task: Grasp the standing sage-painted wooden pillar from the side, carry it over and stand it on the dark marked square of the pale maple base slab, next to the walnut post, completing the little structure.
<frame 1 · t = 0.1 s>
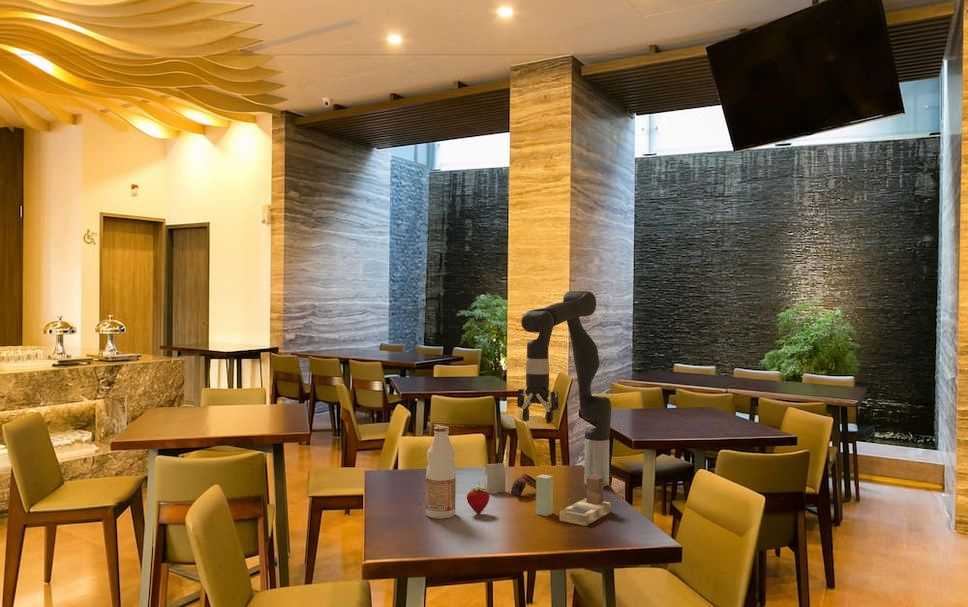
hand: (537, 422, 223), 29 cm above the table, tool pointing down, fingers open, 8 cm apart
pottery mug: (523, 496, 243), on the table
strawberry: (478, 514, 220), on the table
base slab: (585, 516, 219), on the table
pillar: (544, 513, 221), on the table
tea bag: (494, 492, 248), on the table
fruit juice: (440, 515, 219), on the table
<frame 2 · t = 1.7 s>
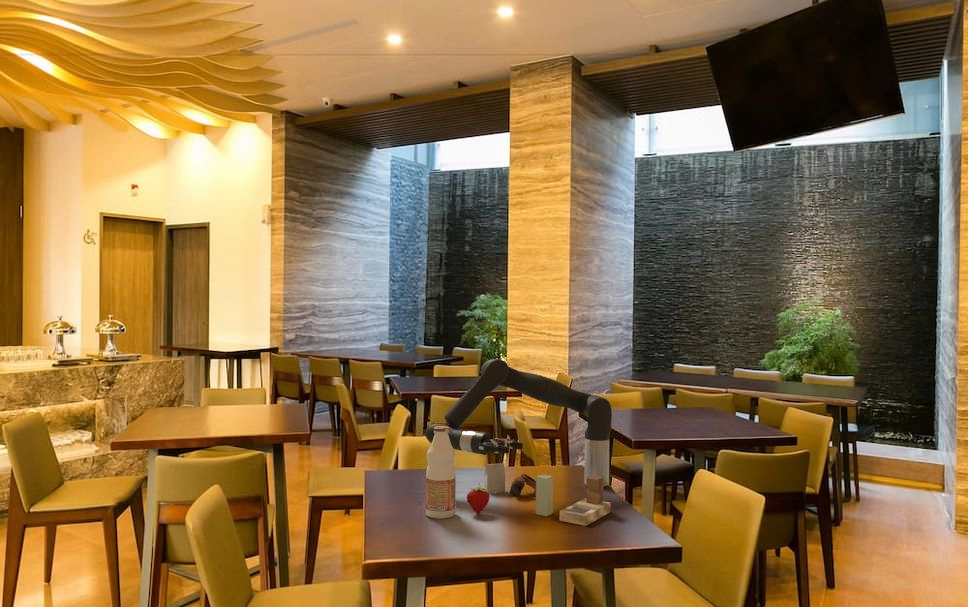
hand: (515, 448, 228), 20 cm above the table, tool horizontal, fingers open, 8 cm apart
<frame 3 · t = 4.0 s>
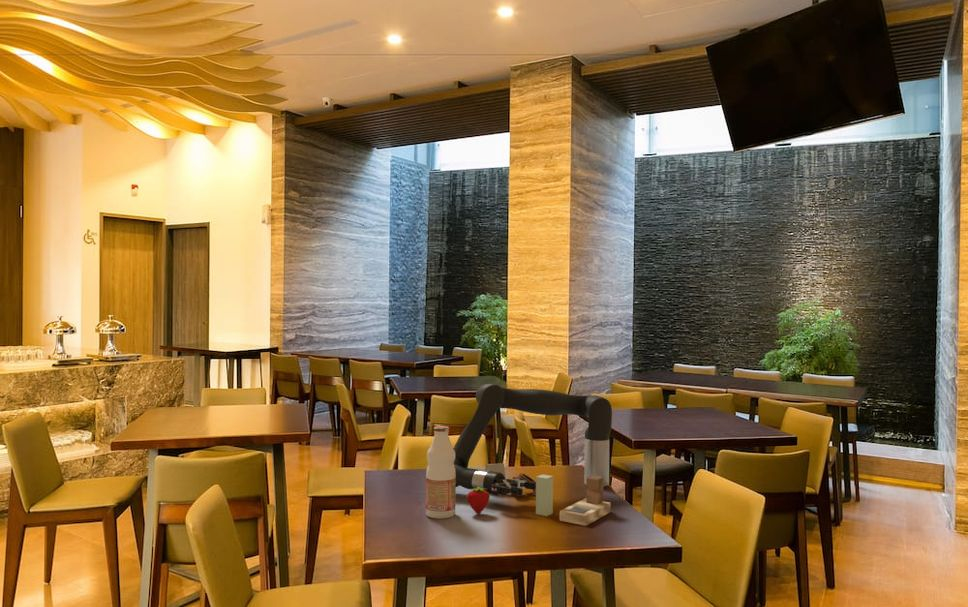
hand: (529, 489, 225), 7 cm above the table, tool horizontal, fingers open, 8 cm apart
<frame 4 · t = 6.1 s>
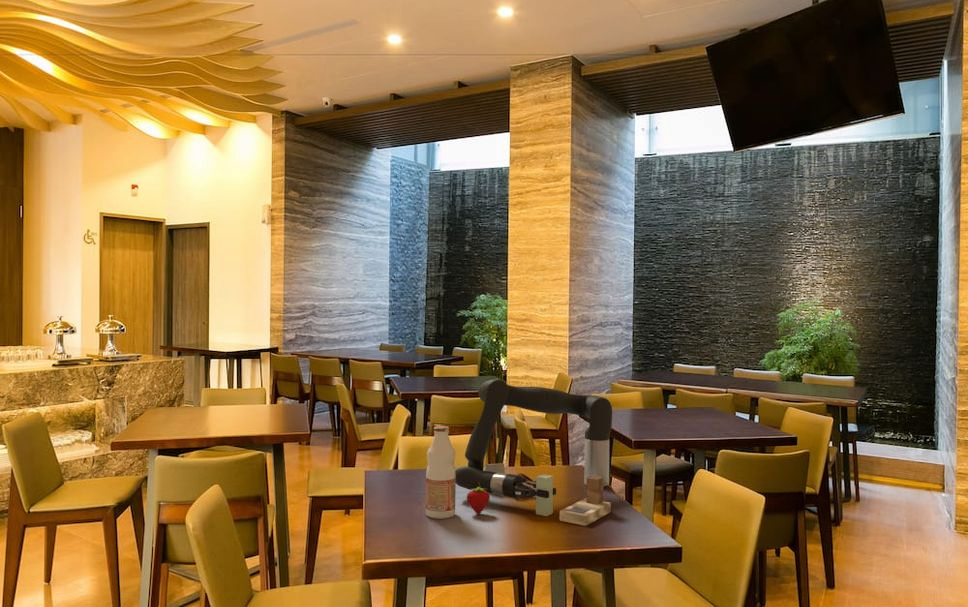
hand: (552, 493, 220), 7 cm above the table, tool horizontal, fingers closed on pillar, 4 cm apart
pillar: (544, 513, 221), on the table, touching gripper
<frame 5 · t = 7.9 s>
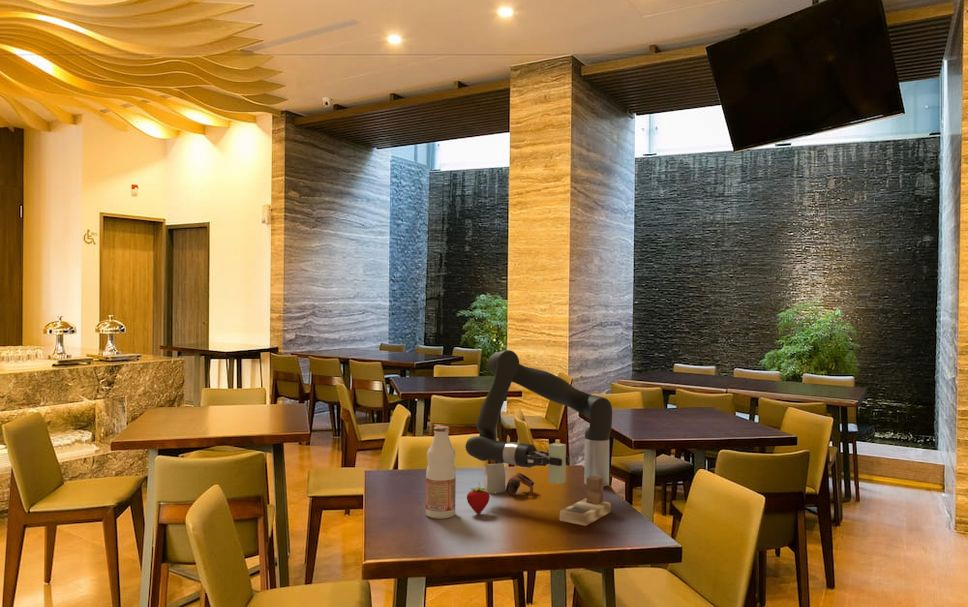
hand: (565, 461, 217), 18 cm above the table, tool horizontal, fingers closed on pillar, 4 cm apart
pillar: (557, 482, 219), point 11 cm above the table, touching gripper
when the fingers open (11 cm above the table, at t = 10.0 s): pillar stays where it is, resting on base slab.
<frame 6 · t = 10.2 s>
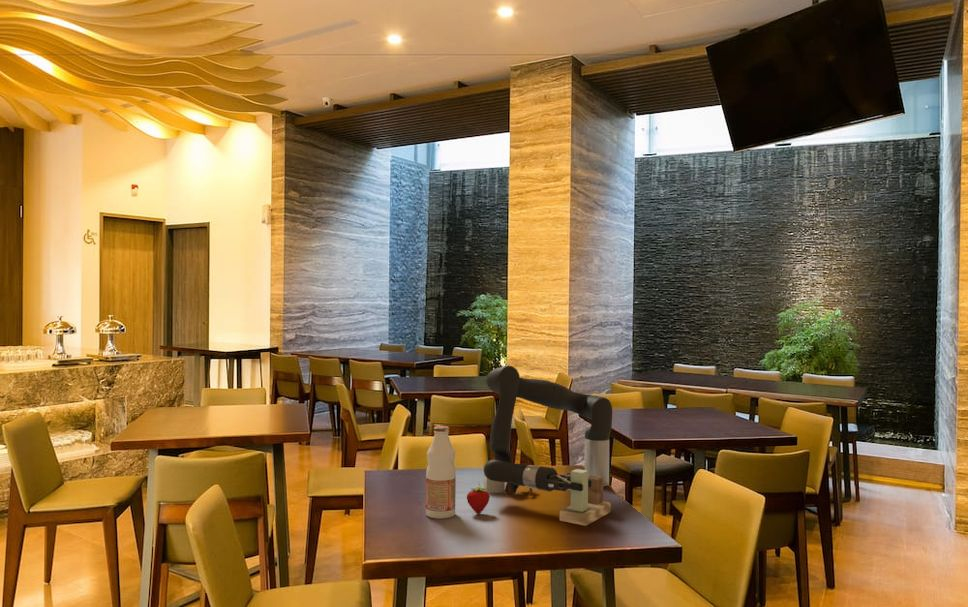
hand: (586, 485, 214), 11 cm above the table, tool horizontal, fingers open, 5 cm apart
pillar: (579, 509, 215), point 3 cm above the table, touching base slab
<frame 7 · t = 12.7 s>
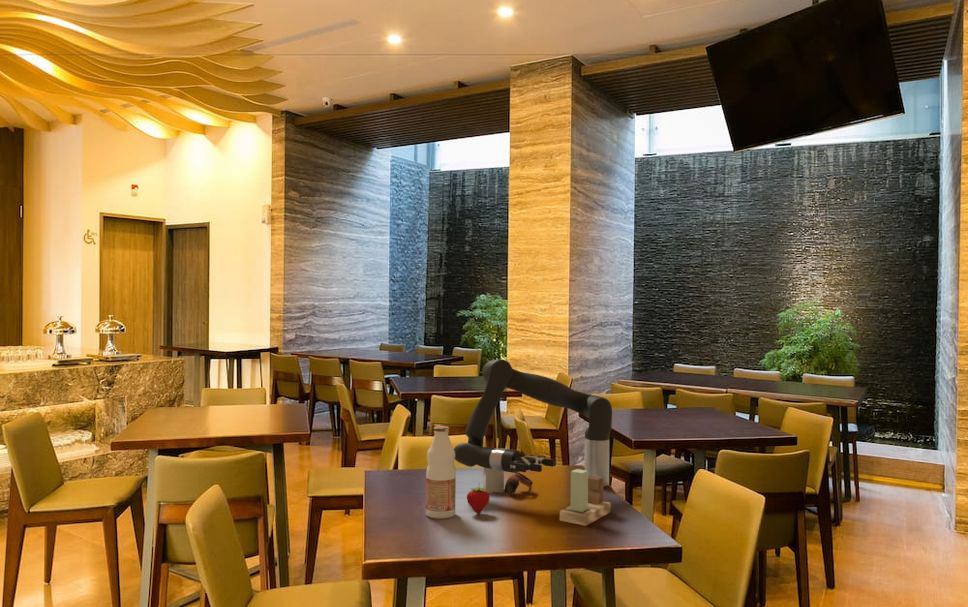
hand: (547, 465, 223), 15 cm above the table, tool horizontal, fingers open, 8 cm apart
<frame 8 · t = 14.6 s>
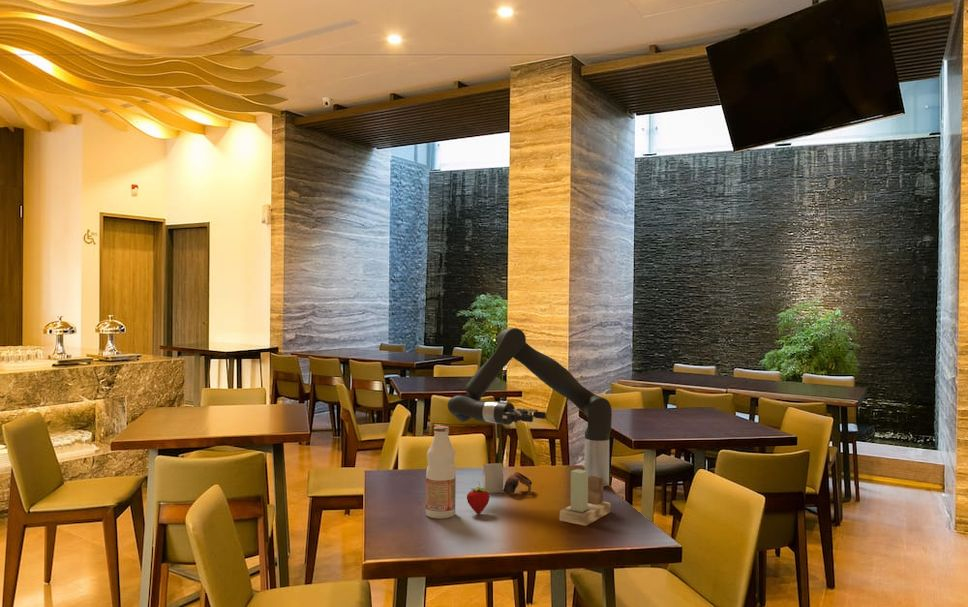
hand: (539, 417, 228), 30 cm above the table, tool horizontal, fingers open, 8 cm apart
at the end: pillar 0.1 cm from the target spot on the base slab, point 3.2 cm above the base slab's base; pillar tilted 0°; the gripper is holding nothing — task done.
